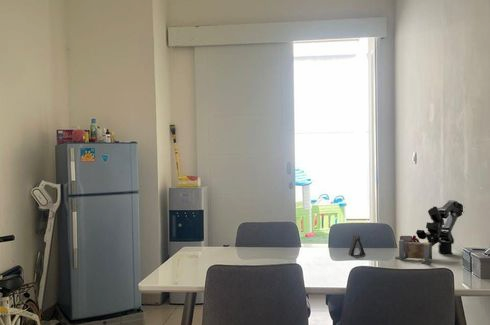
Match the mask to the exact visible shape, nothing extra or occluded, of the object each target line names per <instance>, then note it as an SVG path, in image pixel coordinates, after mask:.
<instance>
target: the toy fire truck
mask: <svg viewBox="0 0 490 325" xmlns="http://www.w3.org/2000/svg"><path fill="white" fill-rule="evenodd" d="M400 240H403V241H404V247H405V242H410V243H421V242H420V240H419V238H417V235H413V236H411V235H400V236H399V241H400Z"/></svg>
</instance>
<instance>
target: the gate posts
mask: <svg viewBox="0 0 490 325" xmlns="http://www.w3.org/2000/svg"><path fill="white" fill-rule="evenodd" d="M422 243H423V244H424V259H423V260H421V263H420V264H422V265H431V264H432V262H431V261H430V259H429V244H430V243H428V241H425V242H422ZM398 252H399V253H398V254H399V255H396V256H394V259H397V260H405V259H407V258H405V247H404V241H403V240H400V239H399V241H398Z"/></svg>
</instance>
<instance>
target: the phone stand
mask: <svg viewBox="0 0 490 325" xmlns="http://www.w3.org/2000/svg"><path fill="white" fill-rule="evenodd" d="M351 241H352V242H351V244H350V247H349V250H348V252H347V253H348V255H349V256H351V257H352V256H354V257H355V256H361V255H365V256H366V253H365V250H364V247H363V245H362V244H363V243H362V242H361V236H360V235H359V234H357V233H356V234H353V235H352V240H351ZM356 246H357V247H358V250H359V252H356V251H355V249H356Z"/></svg>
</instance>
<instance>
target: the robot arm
mask: <svg viewBox="0 0 490 325" xmlns="http://www.w3.org/2000/svg"><path fill="white" fill-rule="evenodd" d="M463 206H464V205H463V204H462V203H460V202H458V201H457V200H453V199H449V200H447V202H446V203H445V204H444V205H442V207H437V206H432V207H431V208H429V209H428V211H427V213H428V215H429V217H430V219H431V221H432V222H426V226H425V228H426V229H427V231H426V232H425V230H423V229H417V230H416V231H415V234H416V237H418V238H417V239H418V240H419V239H420V240H427V242H428V243H432V247H434V246H435V245H436V244H438V248H437V249H438V251H437V252H438V253H440V254H443V255H447V254H448V255H452V254H454V253H453V252H452V245H453V244H454V243H455V239H454V236H453V234H452V231H453V228H454V226H455V224H456V222H457V220H458V218H459V217H461V216H463V214H462V212H463ZM463 213H464V212H463ZM444 219H446V221H445V220H444Z"/></svg>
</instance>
